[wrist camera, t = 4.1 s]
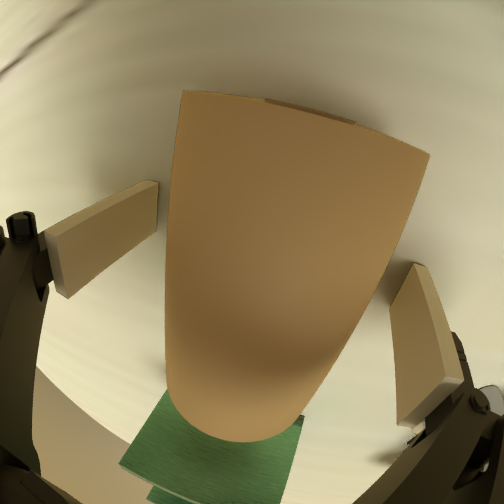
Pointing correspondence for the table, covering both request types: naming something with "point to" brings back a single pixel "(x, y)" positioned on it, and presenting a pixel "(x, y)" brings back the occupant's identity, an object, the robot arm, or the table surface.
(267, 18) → the table surface
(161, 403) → the holder
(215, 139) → the cylinder
